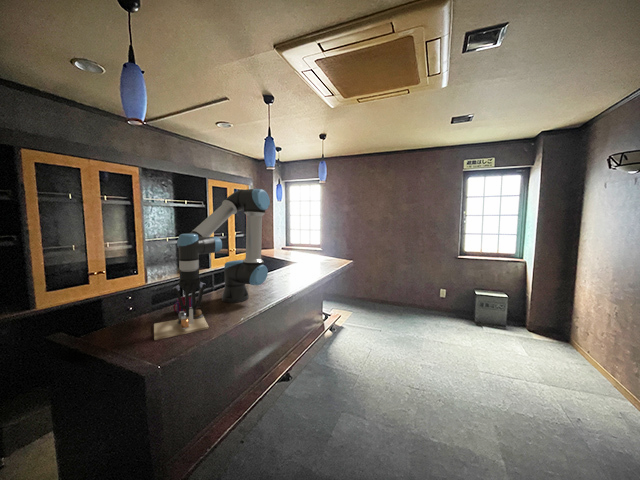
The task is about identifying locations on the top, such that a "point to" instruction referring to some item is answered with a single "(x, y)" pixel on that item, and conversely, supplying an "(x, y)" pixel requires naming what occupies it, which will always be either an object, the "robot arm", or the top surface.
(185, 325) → the lever
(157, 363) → the top surface
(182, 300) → the mug
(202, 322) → the press base
